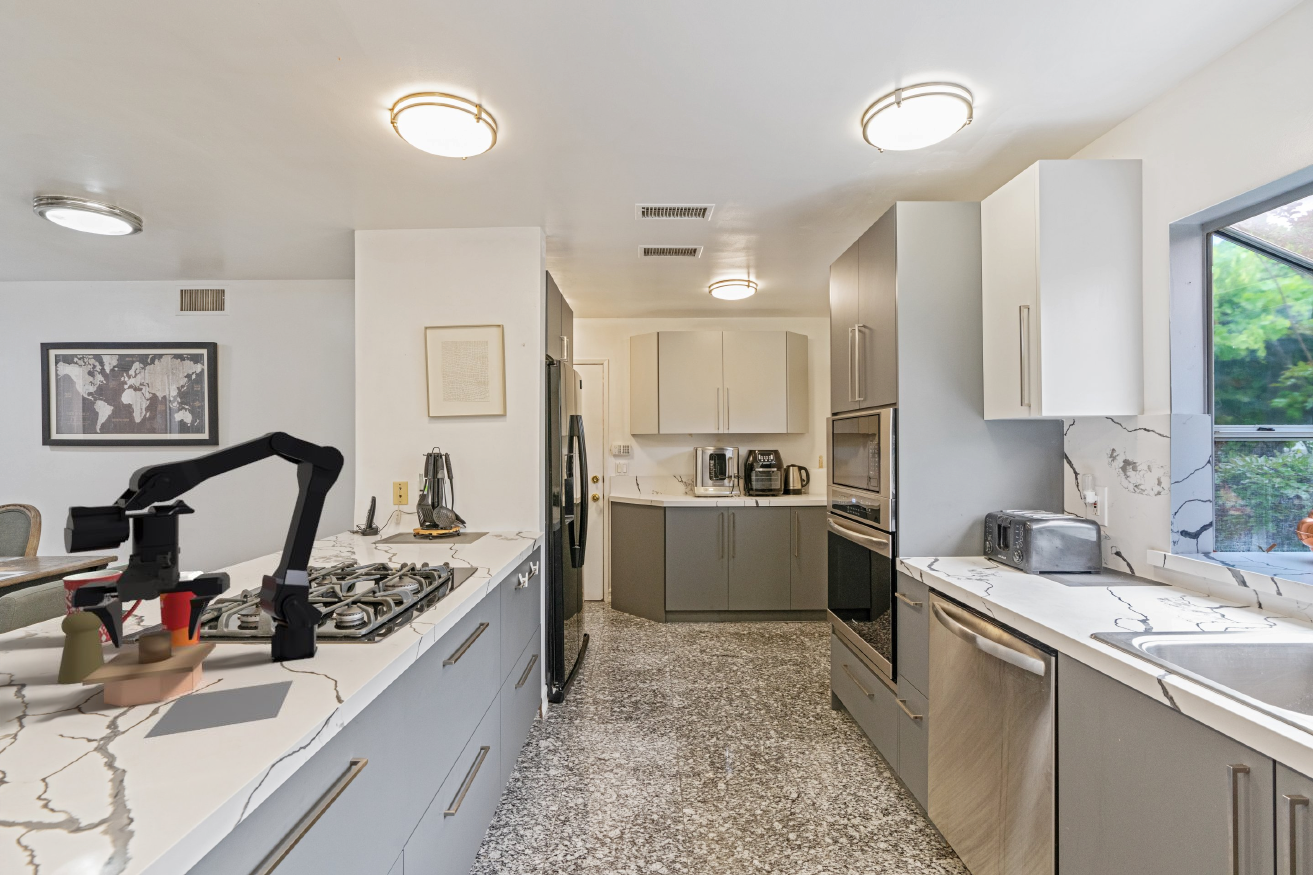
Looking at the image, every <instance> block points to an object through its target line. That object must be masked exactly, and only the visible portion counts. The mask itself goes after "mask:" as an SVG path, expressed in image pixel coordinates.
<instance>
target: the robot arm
mask: <svg viewBox="0 0 1313 875" xmlns="http://www.w3.org/2000/svg"><path fill="white" fill-rule="evenodd" d="M273 456H277V457H279V458H280V459H283V460H284V461H285V462H288V463H291V464H294V465H296V466H297V467H296V479H297V484H298V493H297V497H296V501H295V505H294V509H293V511H292V512H293V513H292V517H291V521H290V524H289V527H288V531H287V535H286V539H285V543H284V547H283V549H282V554H281V556H280V561H279V565H278V566H277V568H276V569H275V571H274V572H273V573H272V575H269V574H263V576H262V578H261V587H260V591H259V592H258V593H257V594H256V598H258V599H259V607H260V608H261V610H262V611H263V613H265V614H267V615H269V616H270V618H271V620H272V622H273V623H276V625H275V626H274V632H273V633H272V634H271V636H270V640H271V641H270V642H271V643H270V644H271V645H270V651H271V652H270V657H271V659H272V664H276V663H277V664H278V663H284V662H293V661H301V660H308V659H314V658H315V657H316V654H317V651H318V649H319V647H318V646H317V625H319V624H320V622H321V619H322V617H323V611H321V610H320V609H319V608H317V607H315V605H313V604H312V603H311V602H310V601H309V600H310V586H311V585H310V581H309V580H310V578H309V574H308V567H309V563H310V558H311V555H312V552H313V548H314V543H315V540H316V536H317V532H318V529H319V525H320V521H321V517H322V513H323V508H324V506H325V501H326V497H327V495H328V493H329V491H330V490H331V489H332V487H333V486H334V485H335V483H336V482H337V481H338V479H339V476H340V474H341V472H342V470H343V468H344V464H345V456H344V455H343V454H342V452H341V451H340V450H339V449H338V448H336V447H334V446H332V445H331V446H330V445H321V446H320V444H316V443H313V442H310V441H307V440H305V439H301V438H298V437H295V436H292V435H290V434H289V433H287V432H285V431H271V432H270V431H269V432H267V433H264V434H263V435H261V436H259V437H256V438H252V439H250V440H246V441H244V442H240V443H237V444H234V445H232V446H228V447H225V448H222V449H218V450H216V451H212V452H210V453H207V454H204V455H199V456H198V457H194V458H189V459H188V458H187V459H181V460H176V461H169V462H162V463H157V464H150V465H146V466H142V467H140V468H138V469H136V470H135V471H134V472H132V474H131V476H130V478H129V481H128V487H127V488H126V490H125V491H124V492H123V493H122V494H121V495H120V496H119V497H118V498H117V499H116V500H114V502H113V503H112V505H99V506H98V505H97V506H84V505H83V506H82V505H77V506H73V505H72V506H69V507H68V515H67V518H66V524H65V527H64V528H63V540H64V549H65V552H66V553H67V555H69V554H75V553H77V554H78V553H87V552H95V551H105V550H106V551H108V550H115V549H119V548H120V547H121V544H123V543H126V542H127V541H129V539H130V536H131V545H132V546H131V549H132V550H131V554H129V558H128V564H127V567H126V569H125V570H123V571H122V574H121V576H120V577H119V578H118V580H114V581H101V582H90V583H88V584H86V585H83V586H81V587H78V588H77V589H76V590H75V591H74V592H73V594H72V596H71V607H73V608H77V607H86V608H84V609H83V611H84V612H92V613H93V614H95V615H96V616H98V617H99V619H100V620H101V621H102V623H103V624H104V626H105V628H106V630H107V632H108V634H109V636H110V638H111V640H110V641H111V642H112V643H113V646H114V648H115V649H120V648H121V647H122V645H123V637H124V630H123V628H124V626H123V625H124V623H123V616H124V615H123V603H129V602H133V601H137V600H142V601H143V600H144V601H146V602H148V601H152V600H156V599H158V598H160V594H167V593H179V592H190V591H192V593H193V594H195V596H194V597H193V598H192V599H190V606H191V611H190V619H189V628H188V639H189V640H192V639H193V638H194V635H195V633H196V631H197V628H198V626H199V623H200V621H201V622H202V618H203V617H204V616H203V615H204V614H205V611H206V610H207V608H208V605H210V602H211V601H213V600H215V599H216V598H218V597H219V596H220V595H223V594H224V593H226V592H227V590H229V589H230V588H231V577H230V574H229V573H227V571H222V572H221V571H219V572H210V573H208V572H207V573H204V574H200V575H199V576H197V577H196V578H194V579H193V580H183V581H179V579H180V572H181V571H179V570H180V569H179V567H180V566H179V565H180V564H179V561H180V557H179V556H180V555H179V554H181V547H180V545H179V544H180V542H179V541H180V539H179V538H180V537H179V536H180V534H179V533H180V532H179V531H180V530H179V528H180V525H179V524H180V521H179V520H180V517H179V516H180V515H181V516H182V515H192V514H194V513H195V512H196V510H195V509H194V508H193V507H191V506H189V505H188V504H187V503H186V502H185V501H184V500H183V499H178V497H180V496H182V495H183V494H185V493H188V492H190V490H193V489H194V488H195V487H198V486H199V485H200V484H202V483H203V482H206V481H207V480H209V479H211V478H214V477H216V476H220V475H223V474H225V473H227V472H230V471H233V470H236V469H238V468H239V469H240V468H242V467H244V466H247V465H251V464H253V463H256V462H259V461H261V460H265V459H267V458H270V457H273ZM175 498H176V500H175V501H174V502H173V503H171V504H160V505H159V504H158V505H154V504H155V503H166V502H171V501H172V500H173V499H175ZM147 508H148V509H147ZM145 509H147V511H145V512H135V511H144V510H145ZM133 511H134V512H133ZM127 512H133V513H127ZM130 519H131V520H132V521H131V522H132V523H131V524H132V525H130ZM131 533H132V535H131ZM115 598H118V599H115Z"/></svg>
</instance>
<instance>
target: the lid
mask: <svg viewBox="0 0 1313 875" xmlns="http://www.w3.org/2000/svg"><path fill="white" fill-rule="evenodd" d="M171 634H172V631H170V630H162V629H161V630H154V631H148V632H146V633H142V634H140V635H139V636H138V650H134V651H133V650H132V651H123V652H120V653H118V654H117V655H116V656H114V657H112V658H111V659H110V660H108V661H107V662H106V663H105V664H104V665H103V666H101V667H100V668H99V669H97V670H96V671H94V672H93V673H92V674H90V675H89V676H88V677H86V678H85V679H83V680H82V682H81V683H82V686H83V687H84V686H92V685H99V684H104V683H108V682H116V681H124V680H132V679H140V678H147V677H155V676H163V675H171V674H179V673H186V672H193V671H194V670H195V669H196V668H197V667H198V666H199V664H200V663H201V662H202V663H203V661H204V660H205V659H206V658H207V657H208V656H209V655H210V654H211V653H212V652H213V651H214V649H215V648H216V647H217V641H216V642H215V641H214V642H205V643H198V644H195V645H186V646H177V647H171Z"/></svg>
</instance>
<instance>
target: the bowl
mask: <svg viewBox="0 0 1313 875" xmlns="http://www.w3.org/2000/svg"><path fill="white" fill-rule="evenodd" d="M202 670H203V661H202V662H201V663H200V664H199V666H198V667H197V668H196V669H195V670H194V671H193V672H186V673H179V674H171V675H163V676H155V677H147V678H140V679H132V680H124V681H116V682H108V683H103V703H104V704H107V705H114V706H117V707H121V708H123V707H124V708H125V707H130V706H137V705H145V704H146V705H147V704H152V703H158V702H163V701H166V700H168V699H172V698H174V697H177V696H180V695H181V696H182V695H183V694H186V693H189V692H192V691H194V690H195V688H197V686H198V685H199V684H200V683H201V682H202V681H203V680H202V679H203V678H202V677H203V676H202V675H203V671H202Z"/></svg>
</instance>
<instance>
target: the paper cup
mask: <svg viewBox="0 0 1313 875" xmlns="http://www.w3.org/2000/svg"><path fill="white" fill-rule="evenodd" d="M179 572H180V579H179V581H183V580H193V579H194V578H196V577H197V576H199V575H200V574H205V573H204V572H203V570H202V571H201V570H197V571H195V570H193V571H192V570H190V571H179ZM194 596H195V594H193V593H192V591H190V592H179V593H167V594H160V596H159V605H160V608H159V609H160V623H161V630H170V631H172V634H171V647H177V646H186V645H195V644H200V638H201V636H200V635H201V628H202V627H201V625H202V623H201V622H202V620H201V621H200V623H199V626H198V628H197V631H196V633H195V635H194V638H193V639H192V640H189V639H188V628H189V619H190V611H191V606H190V599H192V598H193V597H194Z"/></svg>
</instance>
